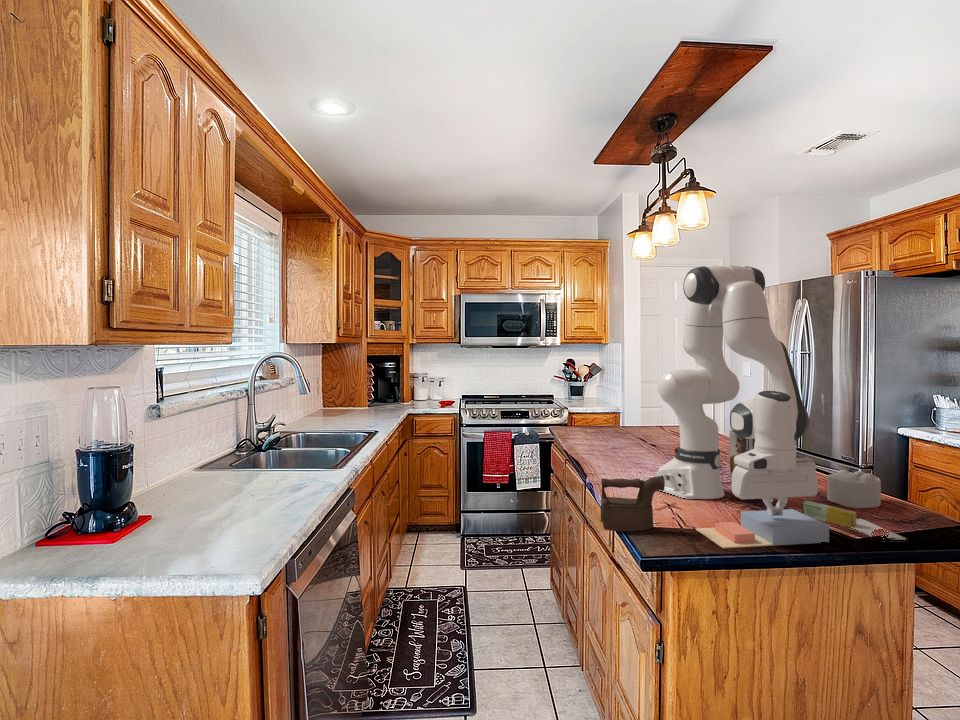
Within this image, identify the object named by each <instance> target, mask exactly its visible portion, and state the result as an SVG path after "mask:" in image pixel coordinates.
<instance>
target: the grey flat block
mask: <svg viewBox="0 0 960 720" xmlns="http://www.w3.org/2000/svg"><path fill="white" fill-rule="evenodd" d="M740 525H741V526H742V527H744V528H746V529H748V530H749V531H751V532H753V533H755V534H756V535H757V536H759V537H761V538H763V539H764V540H766V541H768V542H770V543H771V544H773V546H789V545H793V546H794V545H808V544H809V545H810V544H822V543H821V542H827V543H830V525H829V524H826V522H825V523H824V521H821V520H818V519H814V518H811V517H809V516H807V515H805V514H802V512H800V511H798V510H796V509H793V508H789V509H788V508H787V509H785V508H784V509H783V515H779V516H770V515H768V514H767V509H766V510H747V511H746V510H745V511H740ZM773 546H772V547H773Z"/></svg>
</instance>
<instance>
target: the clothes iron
mask: <svg viewBox="0 0 960 720" xmlns="http://www.w3.org/2000/svg"><path fill="white" fill-rule="evenodd" d="M600 483H601V498H600V499H601V505H600V522H601V523H602V527H603V530H605V531H613V532H615V531H616V532H637V531H639V530H640V531H646V530H649V529H652V528H653V527H654V513H653V512H654V511H653V506H652V504H653V497H654V494H655V493H656V492H659V491H658V490H661V491H664V487H665V480H664V476H663V475H661V476H653V477H649V478H647V479H646V480H643V479H640V478H634V479H633V478H632V479H626V478H613V479H610V478H603V477H602V478H601V480H600ZM605 488H618V489H621V488H622V489H625V488H636V489H639V490H638V493H637V497H636V498H629V497H628V498H627V497H616V496H615V497H614V496H608V495H606V491H605ZM645 529H646V530H645Z"/></svg>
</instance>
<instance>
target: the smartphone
mask: <svg viewBox="0 0 960 720" xmlns="http://www.w3.org/2000/svg"><path fill="white" fill-rule="evenodd" d="M852 528H853V529H852ZM883 528H884V529H885V530H887V532H888V531H889V532H890V533H887V535H888V534H889V535H888V537H887V535H885V536H886V537H887V538H889V539H891V538H893V539H891V540H906V539H907V540H908V538H907V537H905V536H902V535H900V534H898V533H895V532H893V531H891V530H888V529H887V528H885V527H882V526H880V525H878V524H875V523H873V522H871V521H869V520H867V519H864V518H858V517H856V526H855V527H851V528H850V529H852V530H854V529H856V530H858V531H859V532H858V531H857V532H858V533H860V532H862V533H864V534H866V535H868V536H870V537H872V535H873V533H872V531H873V532H874V530H875V529H876V530H878V529H883ZM884 529H883V530H884ZM856 530H855V531H856ZM885 530H884V531H885ZM862 533H861V534H862ZM871 533H872V535H871ZM892 533H893V534H892ZM864 534H863V535H864ZM874 534H875V533H874ZM866 535H865V536H866ZM868 536H867V537H868ZM883 536H884V535H883ZM883 536H881V537H883ZM870 537H869V538H870ZM894 538H895V539H894ZM883 540H884V538H883Z"/></svg>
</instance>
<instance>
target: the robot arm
mask: <svg viewBox="0 0 960 720" xmlns="http://www.w3.org/2000/svg"><path fill="white" fill-rule="evenodd" d="M683 279H684V280H683V285H682V286H683V287H682V288H683V289H682V290H683V293H684V296H685V297H686V299H687V300H688V302H687V307H686V311H685V312H686V313H685V318H684V325H683V327H684V328H683V338H682V339H683V341H682V347H683V351H685V353H686V354H687V355H689V356H690V357H692V358H693V359H694V361H695V366H696V367H695V368H693V369H677V370H674V371H669V372H665V373H664V374H662V376H661V377H660V379H659V381H658V384H657V388H658V394H659V397H660V398H661V399H662V400H663V402H665V403H666V404H667V405H668V406H669V407H671V409H672V411H673V412H674V414H675V416H676V418H677V421H678V429H679V446H678V447H676V448H675V449H673V450H672V452H671V453H672V454H675V455H674V458H672V459H670V460H669V461H668V462H666V463H664V464H663V465H661V466H660V467H659V468H658V470H657V472H656V476H661V475H663V476H664V480H665V487H664V491H663V492H666V493H665V494H667V493H669V494H668V495H670V494H672V495H671V496H673V495H675V496H674V497H677V496H678V497H677V498H680V497H681V499H683V498H685V499H684V500H696V499H697V500H698V499H699V500H714V499H720V498H723V497H725V495H726V494H725V491H724V489H723V484H722V480H721V479H722V478H721V471H720V470H721V469H720V468H721V449H720V448H719V425H718V423H717V422H716V421H715V420H714V419H712V418H711V417H709V416H708V415H706V413H705V410H704V405H710V404H711V405H712V404H713V405H714V404H716V405H717V404H722V403H726V402H730V401H732V400H734V399H735V398H736V397H737V396H738V394H739V391H740V382H739V379H738V376H737V375H736V374H735V373H734V372H733V371H732V370H731V369H730V368H729V366H728V365H727V363H726V361H725V358H724V357H725V356H724V351H723V350H724V349H723V344H724V343H723V342H725V343H726V345H727V347H729V349H730V350H732V351H733V352H735V353H736V354H738V355H740V356H741V357H745V358H747V359H751V360H753V361H755V362H758V363H760V364H762V365H763V366H764V367H765V368H766V369H767V370H768V372H769V375H770V378H771V382H772V385H773V389H774V390H763V391H759V392H757V393H756V394H755V396H754V398H752V399H750V400H749V399H748V400H747V401H743V402H739V403H737V404H736V405H734V407H733V408H732V409H731V411H730V413H729V426H730V428H731V431H734V432H735V433H736V434H737V435H738V436H739V437H742V438H747V439H755V443H754V449H752V450H749V451H747V452H745V453H742V454H739V455H737V456H735V457H734V462H735V464H737V465H738V466H736V467H735V468H734V470H733V473H732V476H731V492H732V494H733V495H734V496H735V497H736V498H738V499H740V500H755V499H756V500H757V499H758V500H759V499H762V502H763V504H764V506H766V510H767V514H768V515H770V516H779V515H783V509H785V507H786V506H787V504H788V502H789V501H788V500H789V499H788V498H799V497H801V498H803V497H804V498H805V497H816V496H817V494H818V493H819V485H818V484H819V482H818V476H817V469H816V466H817V465H816V462H815V461H814V460H813V459H812V458H810V457H805V456H803V457H797V446H796V443H795V442H796V441H797V440H799V439H800V438H801V437H802V436H804V435H805V433H806V432H807V431H808V429H809V427H810V421H811V420H810V417H809V416H810V415H809V413H808V411H807V409H806V406H805V404H804V402H803V399H802V397H801V395H800V394H801V393H800V390H799V387H798V382H797V380H796V375H795V372H794V368H793V365H792V362H791V359H790V355H789V352H788V350H787V347H786V345H785V344H784V343H783V342H782V341H780V340H779V339H778V338H777V337H776V335H775V334H774V332H773V329H772V327H771V322H770V315H769V308H768V304H767V299H766V295H765V293H764V291H765V289H766V279H765V275H764V273H763V272H762V271H761V270H760V269H759V268H756V267H752V266H746V265H745V266H741V265H731V264H730V265H725V264H724V265H716V266H715V265H714V266H705V265H704V266H703V265H702V266H698V267H693V268H691V269H690V270H689V271H688V272H687V273H686V275H685V277H684V278H683ZM656 476H655V477H656ZM660 491H661V490H659V491H658V492H660ZM663 492H662V493H663ZM774 499H776V500H778V501H777V502H776V504H775V506H773V504H772V503H773V502H774Z"/></svg>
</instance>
